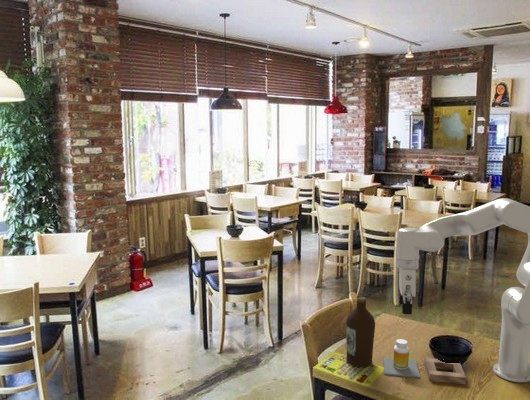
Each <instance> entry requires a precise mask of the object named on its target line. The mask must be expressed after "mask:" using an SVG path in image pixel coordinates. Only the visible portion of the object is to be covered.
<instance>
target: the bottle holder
mask: <svg viewBox="0 0 530 400" xmlns="http://www.w3.org/2000/svg"><path fill="white" fill-rule="evenodd" d="M438 359H439V358H432V357H431V358H430V357H424V368H425V371H426V374H427V377H428V381H429V382H439V383H446V384H447V383H448V384H459V385H467V375H466V373H465V372H464V369H463V367H462V364H461V362H460V363H445V362H442V361H440V360H438ZM440 370H444V371H440ZM447 370H448V371H447ZM450 371H451V372H450Z"/></svg>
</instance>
